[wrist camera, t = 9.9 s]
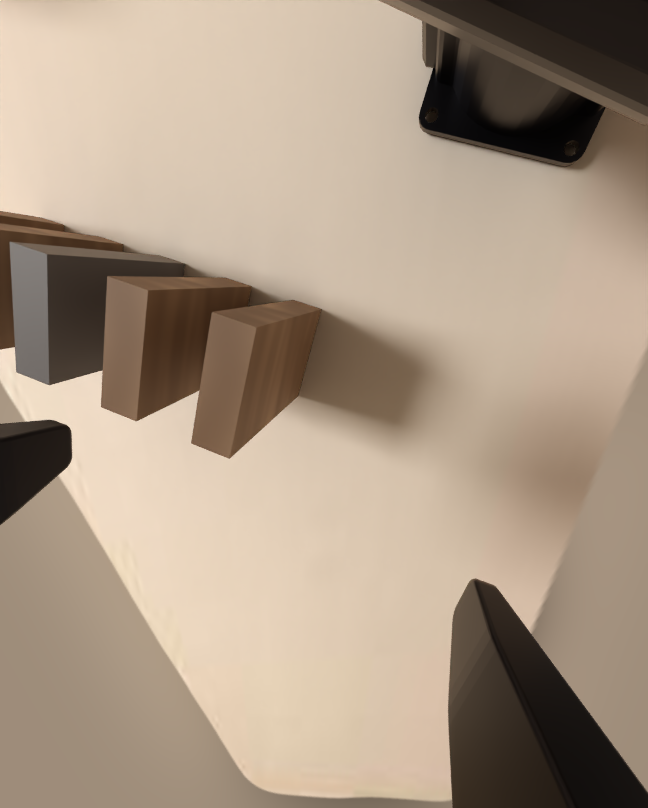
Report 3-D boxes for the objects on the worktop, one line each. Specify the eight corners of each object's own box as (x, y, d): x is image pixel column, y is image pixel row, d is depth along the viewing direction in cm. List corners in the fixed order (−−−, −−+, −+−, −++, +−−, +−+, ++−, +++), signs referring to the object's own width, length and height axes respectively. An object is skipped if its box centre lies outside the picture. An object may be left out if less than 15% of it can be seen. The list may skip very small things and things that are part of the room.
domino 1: (123, 244, 21) (-43, 224, 13) (117, 329, 22) (-30, 354, 15) (99, 236, 21) (-77, 212, 14) (96, 322, 23) (-61, 341, 15)
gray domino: (184, 263, 20) (46, 254, 13) (174, 349, 22) (49, 385, 15) (159, 255, 20) (9, 241, 13) (151, 341, 22) (16, 372, 15)
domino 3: (321, 309, 19) (256, 327, 12) (298, 395, 21) (229, 458, 13) (293, 300, 19) (211, 312, 12) (272, 386, 21) (191, 443, 14)
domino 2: (251, 286, 20) (148, 290, 12) (235, 372, 21) (136, 421, 14) (224, 277, 20) (107, 275, 12) (210, 363, 22) (101, 407, 14)
